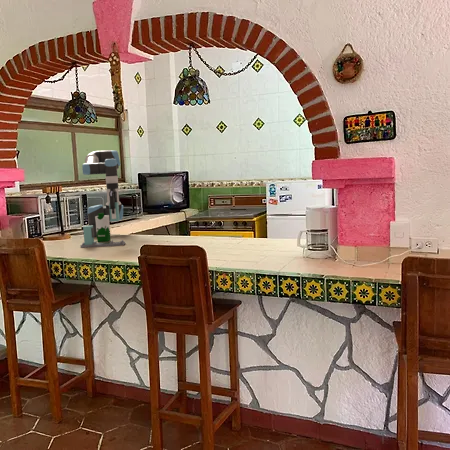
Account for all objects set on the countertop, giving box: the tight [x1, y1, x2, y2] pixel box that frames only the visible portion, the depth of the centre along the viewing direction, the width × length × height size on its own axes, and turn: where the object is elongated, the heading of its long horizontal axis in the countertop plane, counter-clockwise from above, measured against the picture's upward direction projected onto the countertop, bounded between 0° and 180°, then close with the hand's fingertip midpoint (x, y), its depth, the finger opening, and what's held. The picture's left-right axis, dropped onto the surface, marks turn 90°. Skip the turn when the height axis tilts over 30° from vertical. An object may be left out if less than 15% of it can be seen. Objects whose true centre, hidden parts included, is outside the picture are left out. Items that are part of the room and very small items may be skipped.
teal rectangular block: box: [82, 225, 95, 245], centre depth 317 cm, size 5×6×12 cm
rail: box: [80, 239, 126, 249], centre depth 318 cm, size 7×28×3 cm, turn 92°
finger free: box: [109, 202, 121, 222], centre depth 316 cm, size 5×6×12 cm
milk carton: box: [95, 213, 112, 243], centre depth 338 cm, size 9×9×20 cm
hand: (114, 218), depth 316 cm, fingers closed on finger free, 5 cm apart
